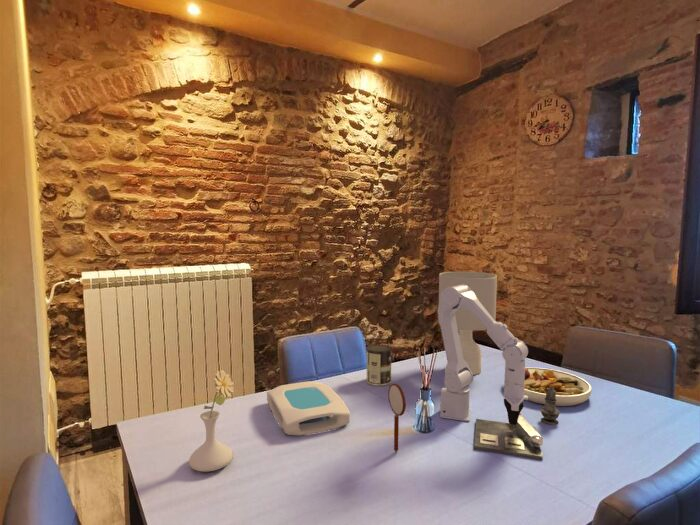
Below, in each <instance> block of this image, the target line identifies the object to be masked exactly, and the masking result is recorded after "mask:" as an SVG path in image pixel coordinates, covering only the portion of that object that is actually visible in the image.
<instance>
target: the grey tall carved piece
mask: <svg viewBox="0 0 700 525" xmlns="http://www.w3.org/2000/svg"><path fill="white" fill-rule="evenodd" d="M556 401H557V400H556V391H555V390H554V389H553V388H552V386H550V388H548V389H547V390H546V398H545V404H544V406H542V407H541V408H540V409H539V410H540V412H541V415H542V417H541V418H540V421H541V422H542V423H544V424H546V425H550V426H557V425H558V424H559V421H558V420H557V419H559V418H558V417H559V415H560V414H561V412H560V410H558V408H557V406H555V405H556Z"/></svg>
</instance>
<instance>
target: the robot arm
mask: <svg viewBox="0 0 700 525" xmlns="http://www.w3.org/2000/svg"><path fill="white" fill-rule="evenodd" d="M459 308H462V309H467V310H470V311H471V312H472V313H473V314H474V315H475V316H476V317H477V318H478V319H479V320H480V321H481V323H482V324H483V325H484V326H485V327H486V328H487V330H486V334H487V336H489V338H490V339H491V340H492V341H493V343H494V344H495V345H496V346H497V347H498V348H499V349H500V350H501V352H502V353H501V355H502V358H503V359H504V361H505V364H504V386H503V387H504V389H503V394H502V395H503V405H504V407H505V409H506V412H507V419H508V423H509V424H513V425H516V424H517V422H518V418H519V414H520V413H521V412H522V411H523V410H524V406H525V405H524V401H529V400H528V396H527V395H524V382H525V368H526V358H527V356H528V354H529V348H528V346H527V345H526V343H525V342H524V341H522V340H519V339H518V337H515V336H514V335H513V333H512V332H511V331H510V330H509V329H508V326H507V324H504V323H502V322H500V321H497V320H494V319H493V318H492V316H491V315H490V314H489V313H488V311H487V310H486V309H485V308H484V306H483V305H482V304H481V303H480V301H479V300H478V299H477V297H476V295H475V293H474V292H473V291H471V290H470V288H469V287H468V286H466V285H464V284H460V285H458V286H454V287H448V288H446V289H444V291H443V292H442V293H441V294H440V303H439V302H438V306H437V314H438V315H437V316H439V321H440V324H439V327H440V330H441V336H442V339H443V341H442V342H443V346H444V350H445V356H446V361H447V363H446V365H445V368H444V380H443V383H444V387H442V388H441V392H440V405H439V410H440V413H439V414H440V415H439V416H440V418H442V419H449V420H457V421H462V422H463V421H464V422H470V421H471V412H472V411H471V410H470V388H471V387H470V386H471V385H472V383H473V381H474V375H473V374H472V372H471V371H470V369H469V366H468V363H467V362H466V361H465V360H464V359H463V353H462V348H461V343H460V338H459V330H458V328H457V323H456V318H455V313H456V311H457V310H458V309H459Z"/></svg>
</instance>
